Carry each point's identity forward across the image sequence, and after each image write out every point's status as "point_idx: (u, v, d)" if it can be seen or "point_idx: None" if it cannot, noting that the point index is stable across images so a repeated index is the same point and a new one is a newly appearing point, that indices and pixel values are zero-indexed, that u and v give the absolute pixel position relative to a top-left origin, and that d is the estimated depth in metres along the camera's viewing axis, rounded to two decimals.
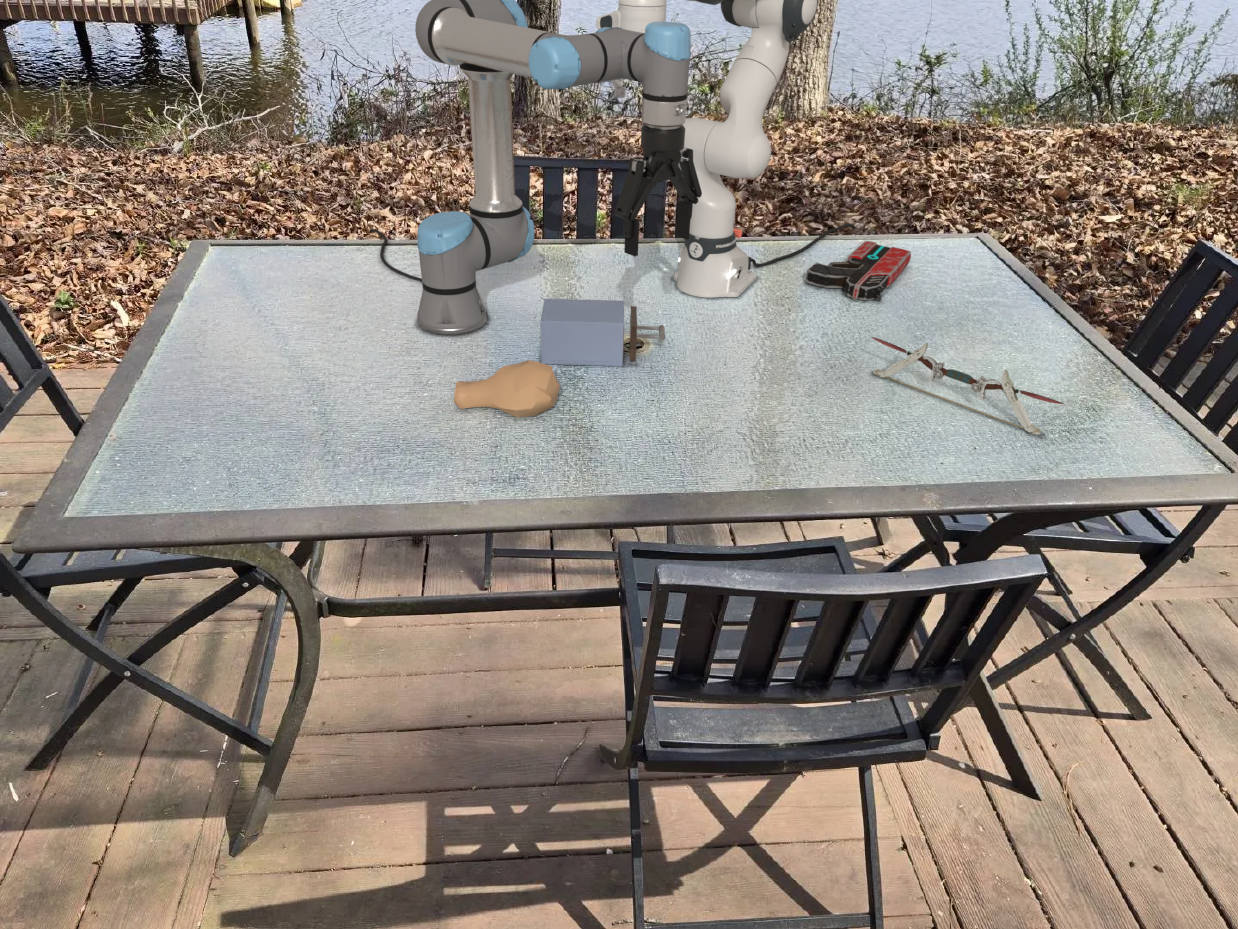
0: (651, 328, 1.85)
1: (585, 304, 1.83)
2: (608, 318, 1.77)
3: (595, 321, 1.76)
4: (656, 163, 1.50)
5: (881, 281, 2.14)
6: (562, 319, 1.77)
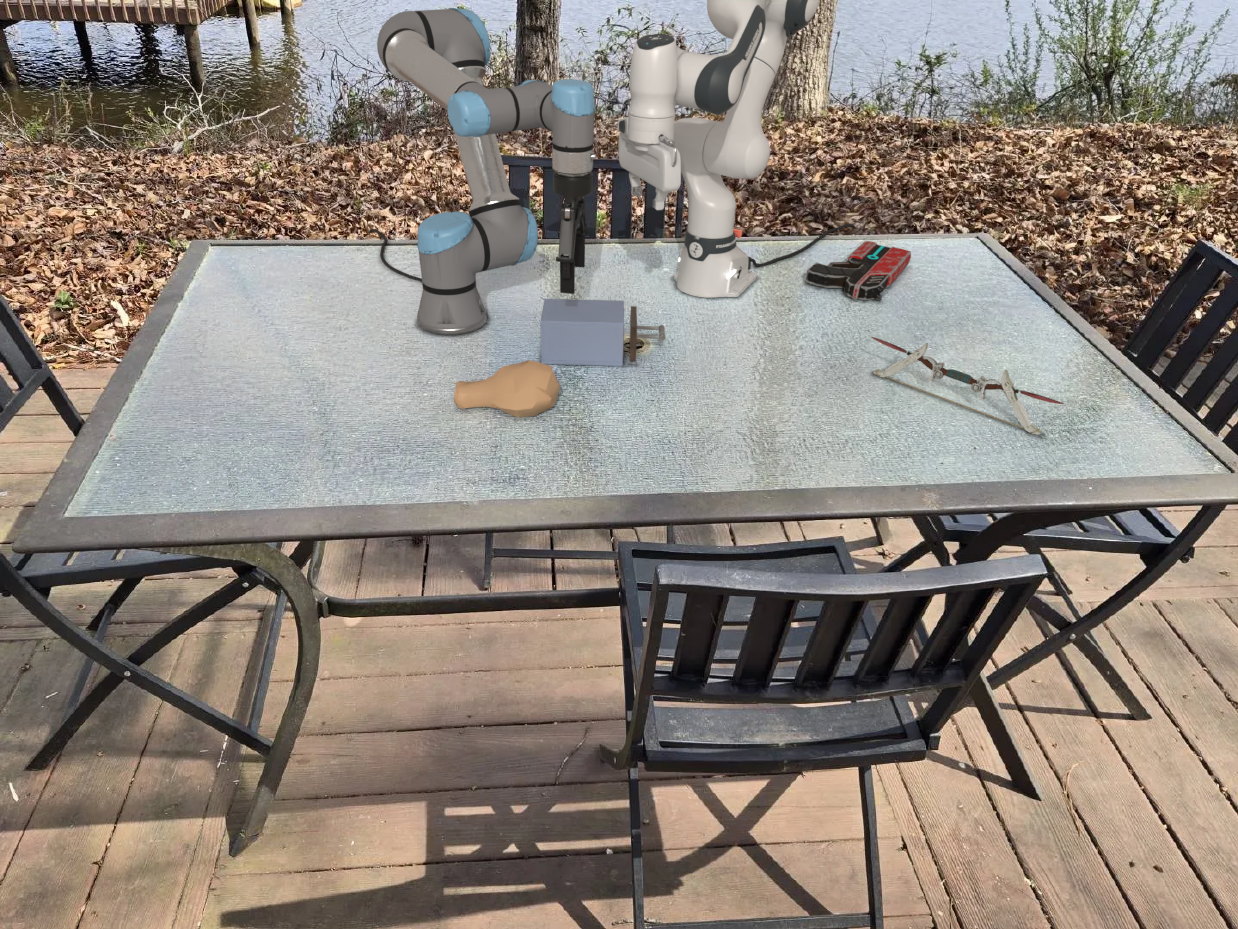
0: (651, 328, 1.85)
1: (585, 304, 1.83)
2: (608, 318, 1.77)
3: (595, 321, 1.76)
4: (576, 206, 1.64)
5: (881, 281, 2.14)
6: (562, 318, 1.77)
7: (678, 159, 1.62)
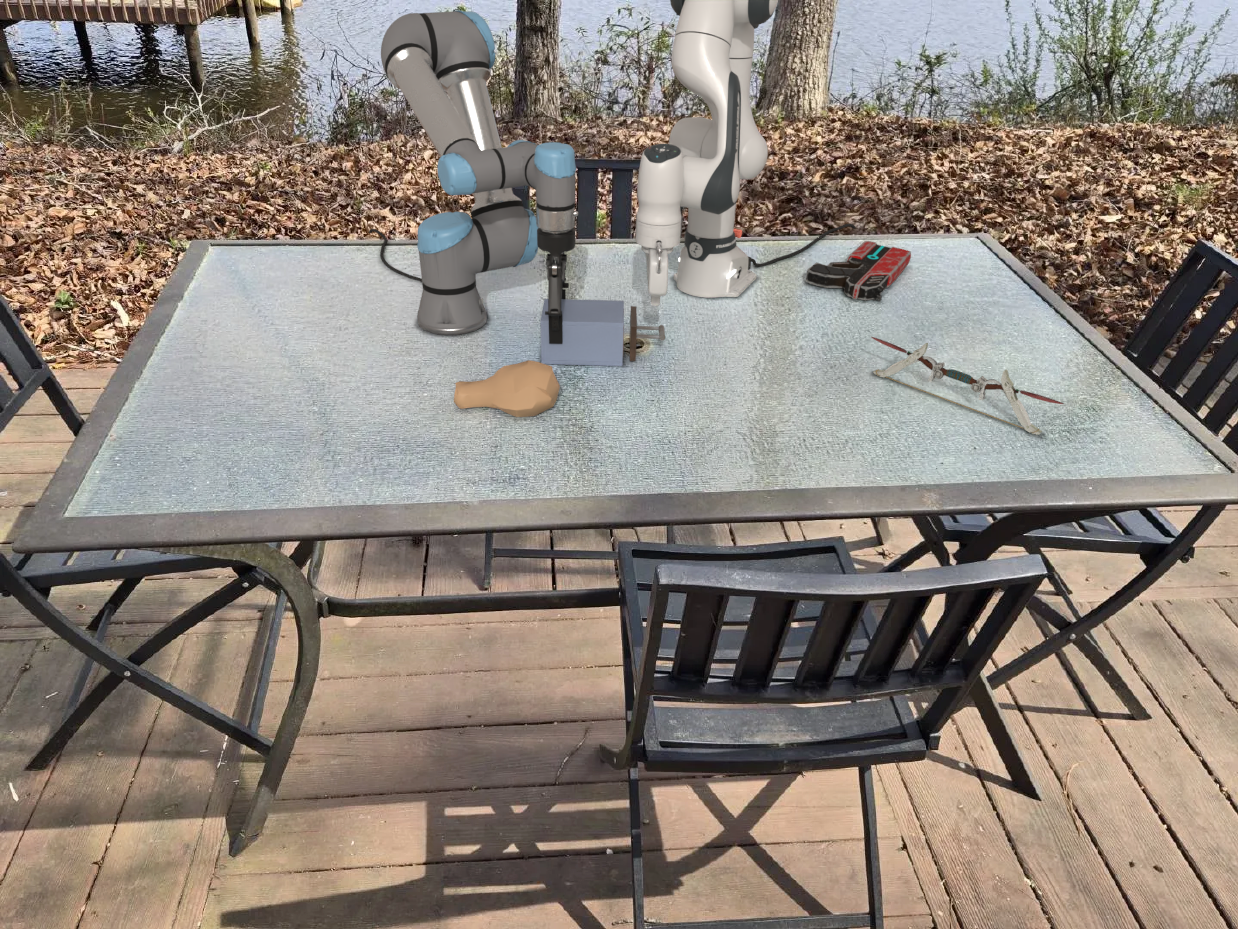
0: (651, 328, 1.85)
1: (585, 304, 1.83)
2: (608, 318, 1.77)
3: (595, 321, 1.76)
4: (561, 260, 1.72)
5: (881, 281, 2.14)
6: (562, 319, 1.77)
7: (664, 267, 1.65)
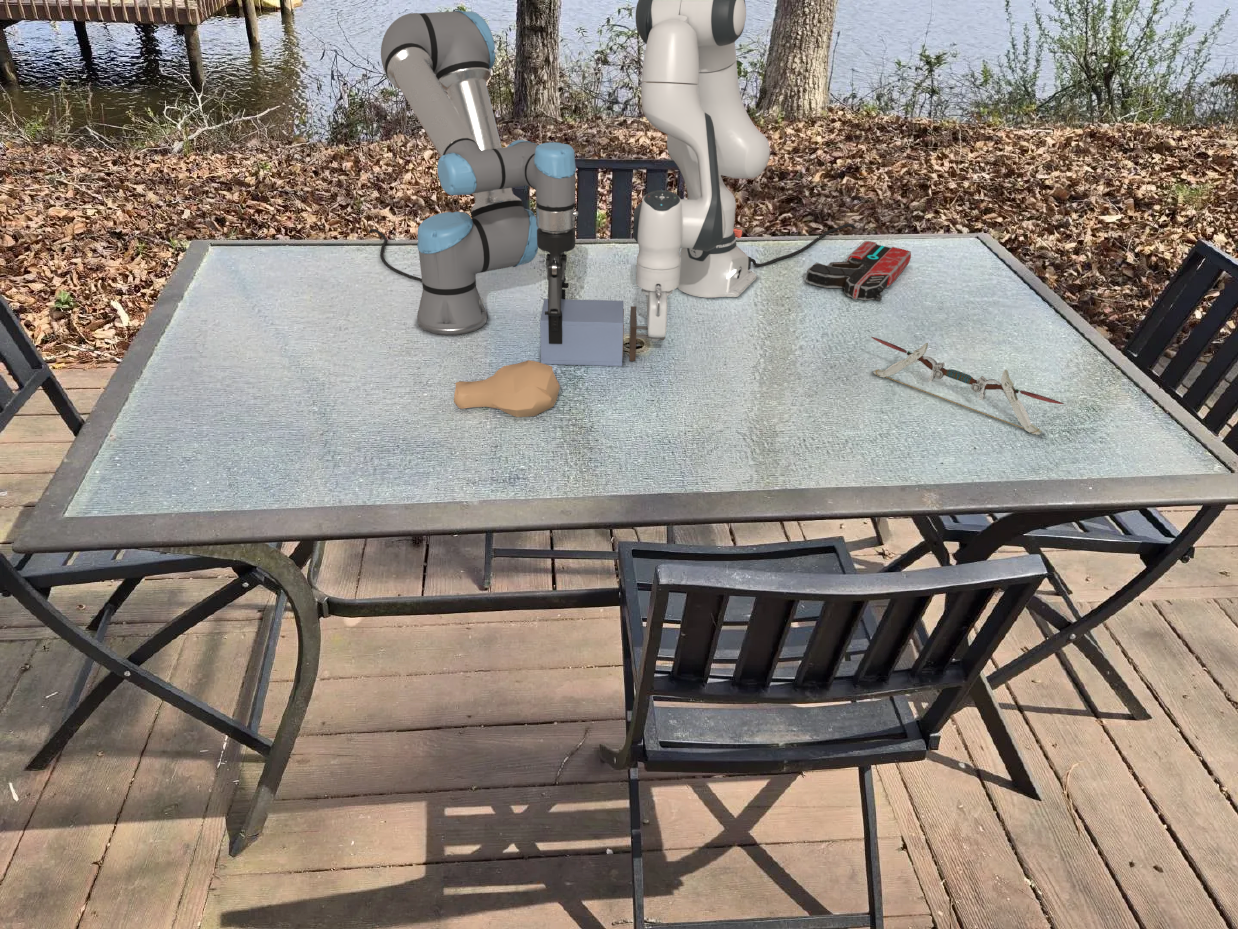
0: None
1: (585, 304, 1.83)
2: (608, 318, 1.77)
3: (595, 321, 1.76)
4: (561, 261, 1.72)
5: (881, 281, 2.14)
6: None
7: (663, 310, 1.70)
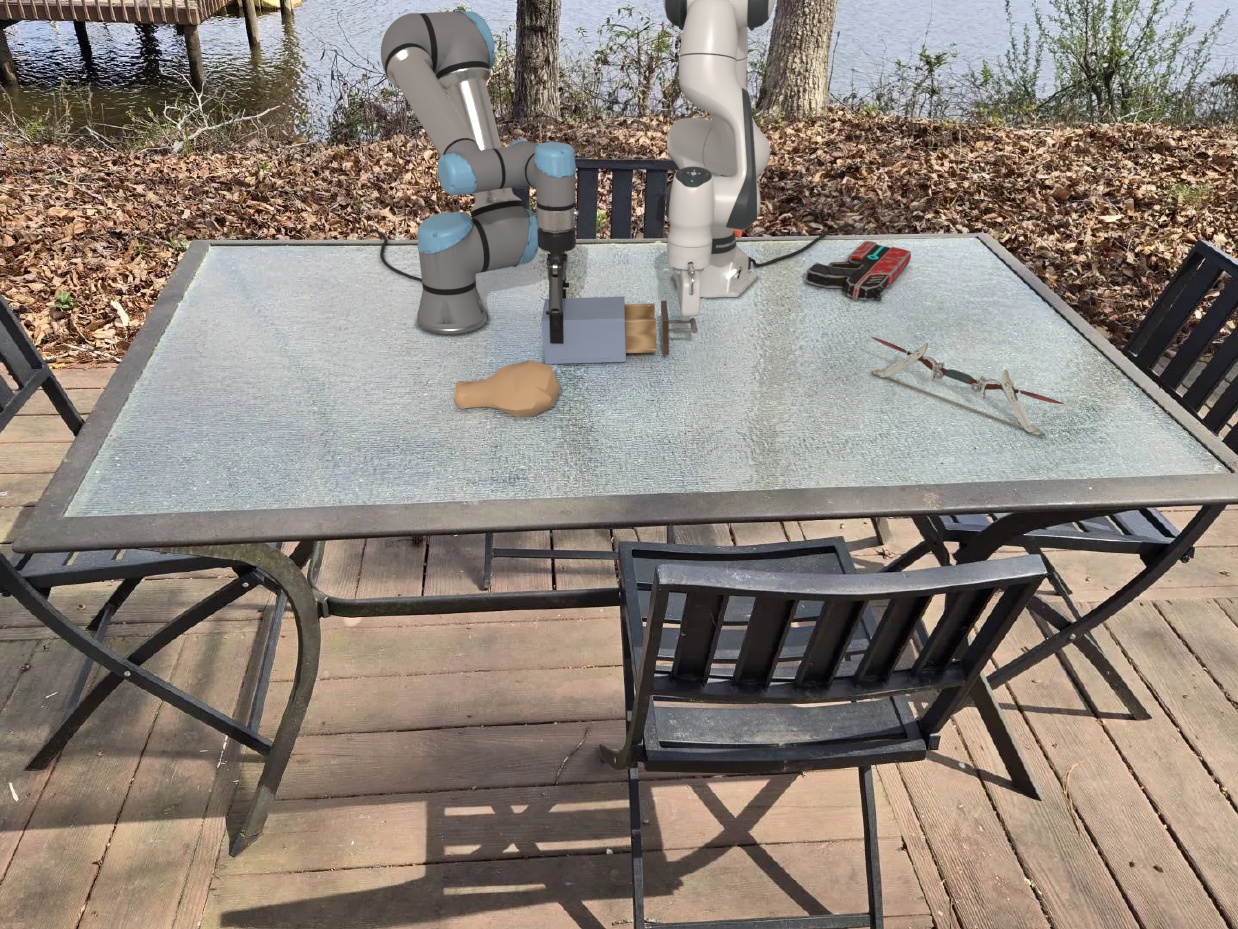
0: (682, 321, 1.84)
1: (585, 302, 1.83)
2: (609, 315, 1.77)
3: (596, 318, 1.76)
4: (561, 260, 1.72)
5: (881, 281, 2.14)
6: (563, 318, 1.77)
7: (697, 289, 1.68)
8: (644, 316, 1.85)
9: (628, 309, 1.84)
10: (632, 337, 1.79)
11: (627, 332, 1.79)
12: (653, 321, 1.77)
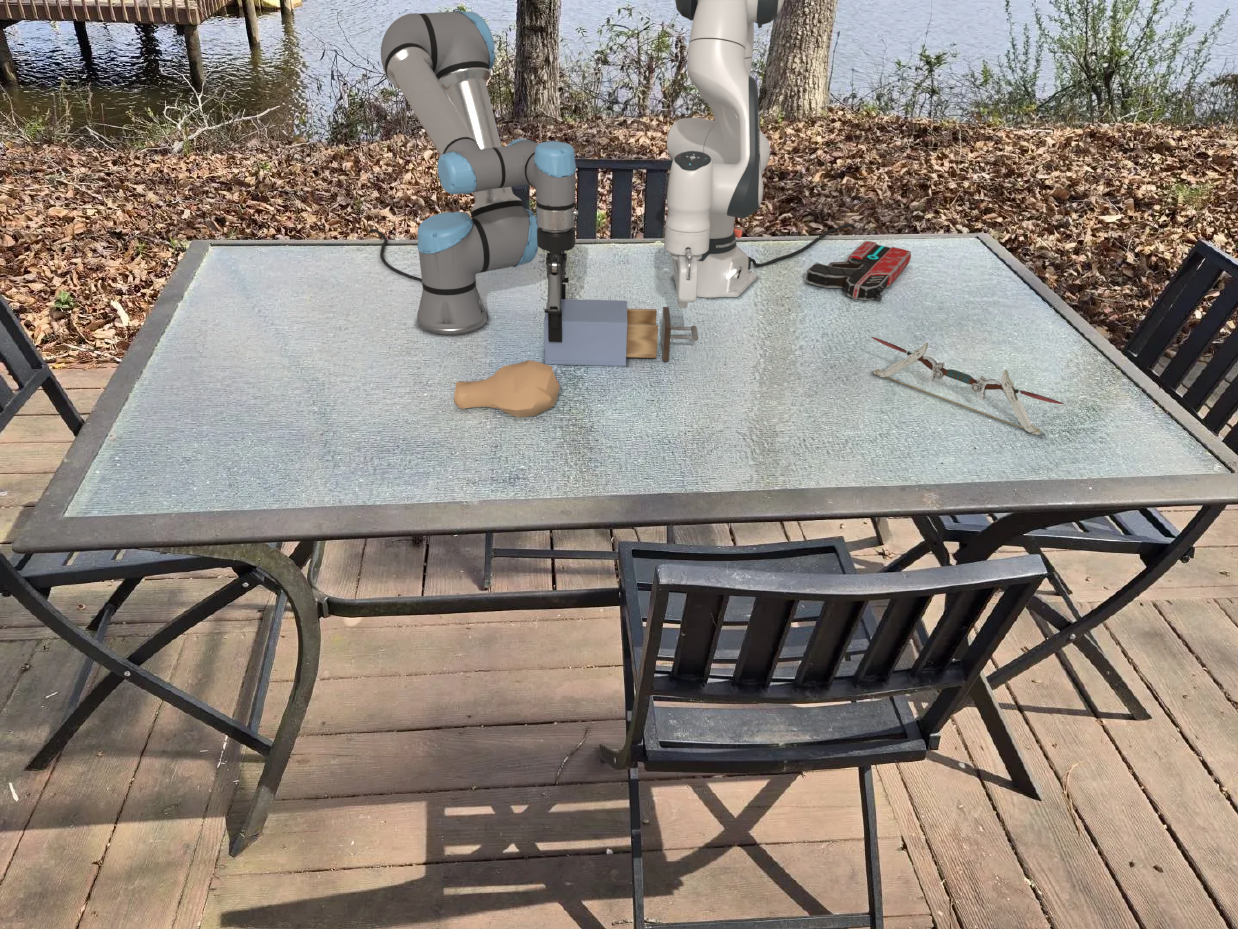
0: (683, 329, 1.85)
1: (588, 304, 1.83)
2: (611, 318, 1.78)
3: (598, 321, 1.76)
4: (561, 260, 1.72)
5: (881, 281, 2.14)
6: (565, 319, 1.77)
7: (694, 274, 1.66)
8: (646, 321, 1.86)
9: (630, 313, 1.85)
10: (634, 342, 1.80)
11: (629, 336, 1.79)
12: (655, 327, 1.78)
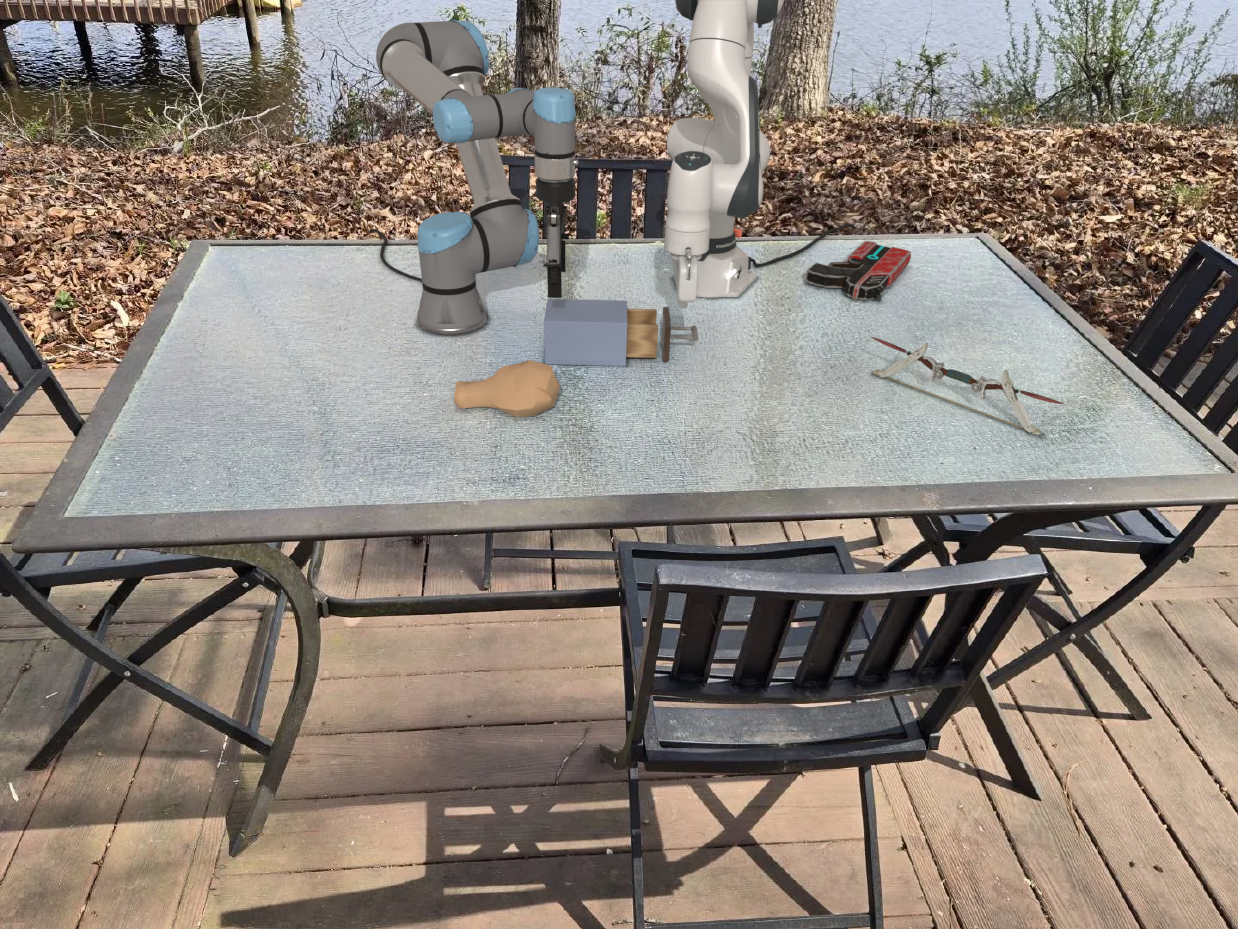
0: (683, 329, 1.85)
1: (588, 304, 1.83)
2: (611, 318, 1.78)
3: (598, 321, 1.76)
4: (560, 212, 1.67)
5: (881, 281, 2.14)
6: (565, 319, 1.77)
7: (694, 274, 1.66)
8: (646, 321, 1.86)
9: (630, 313, 1.85)
10: (634, 342, 1.80)
11: (629, 336, 1.79)
12: (655, 327, 1.78)
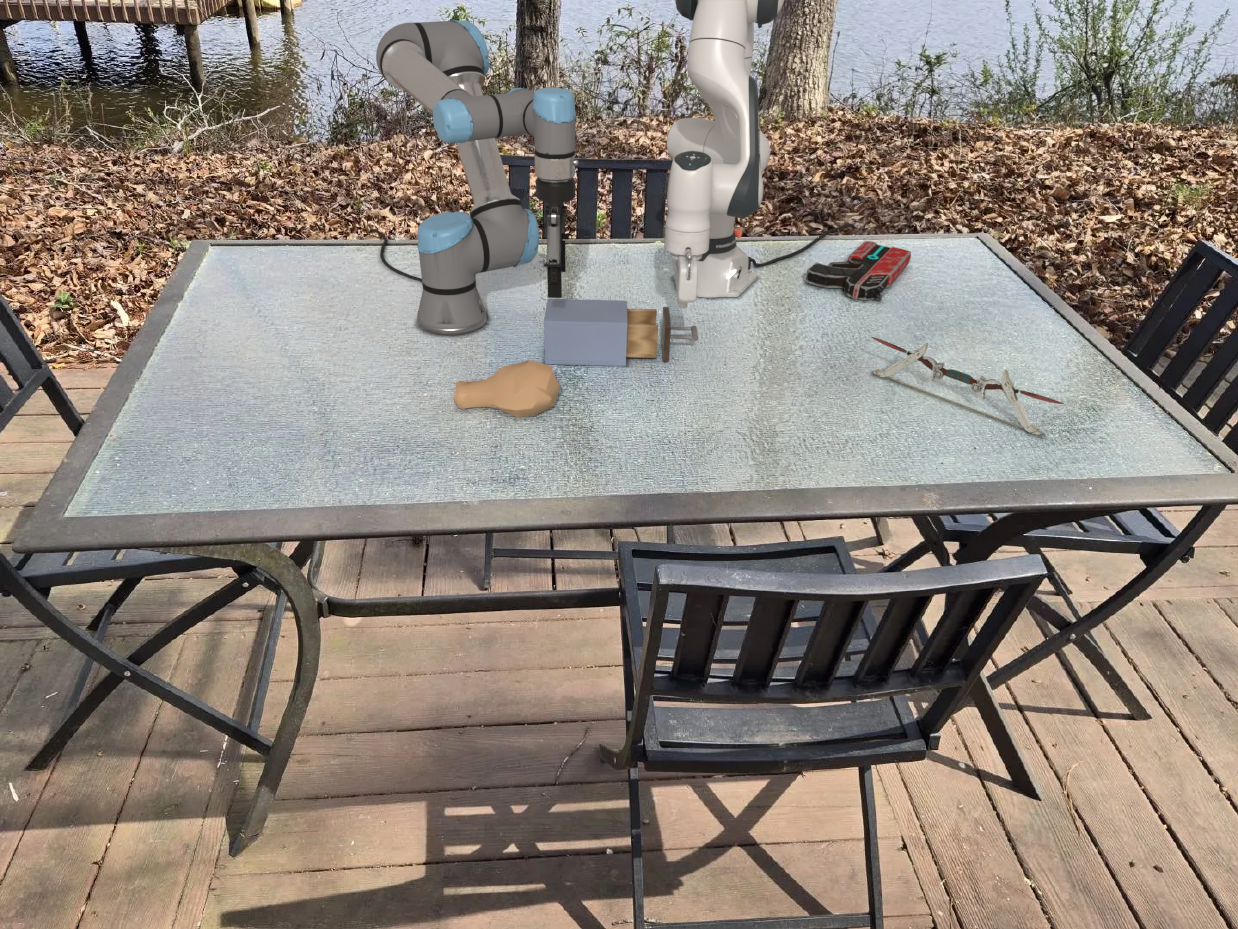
0: (683, 329, 1.85)
1: (588, 304, 1.83)
2: (611, 318, 1.78)
3: (598, 321, 1.76)
4: (560, 212, 1.67)
5: (881, 281, 2.14)
6: (565, 319, 1.77)
7: (694, 274, 1.66)
8: (646, 321, 1.86)
9: (630, 313, 1.85)
10: (634, 342, 1.80)
11: (629, 336, 1.79)
12: (655, 327, 1.78)
